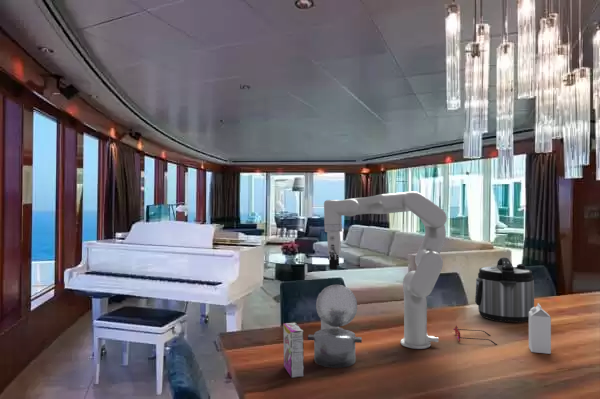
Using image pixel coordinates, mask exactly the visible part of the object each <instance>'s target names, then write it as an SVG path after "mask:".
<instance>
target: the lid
mask: <svg viewBox="0 0 600 399" xmlns="http://www.w3.org/2000/svg"><path fill="white" fill-rule="evenodd" d="M315 309H316V312H317V315H318V317H319V318H320V321H321V320H322V321H323V322H325V323H326V324H328V325H330V326H333V327H339V328H342V327H343V326H346V325H349V324H350V323H351V322H352V321H353V320H354V319H355V316H356V314H357V311H358V301H357V298H356V295H355V294H354V292H353V291H352V290H351V289H350V288H348V287H347V286H344V285H343V284H332V285H328V286H326V287H324V288H323V289H321V291H320V292H319V293H318V295H317V297H316V303H315Z"/></svg>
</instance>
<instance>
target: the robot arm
mask: <svg viewBox="0 0 600 399" xmlns="http://www.w3.org/2000/svg"><path fill="white" fill-rule="evenodd" d="M323 209H324V210H323V214H324V215H323V217H324V218H323V221H324V223H323V224H324V232H325V233H326V235H327V236H326V238H327V239H326V240H327V254H328V255H329V256H328V257H329V260H328V262H329V263H328V264H329V266H328V267H329V268H328V269H329V270H332V271H333V270H337V269H338V267H339V266H340V256H339V255H340V254H341V253H342V246H341V245H342V244H341V243H342V242H341V241H342V240H341V232H342V231H343V218H342V216H344V217H354V216H356V215H370V214H374V215H385V214H395V213H396V214H397V213H404V212H411V213H413V214H414V215H415V216H417V217H418V218H419V219H420V221H421V223H422V224H423V226H424V230H425V233H424V237H423V239H422V242H421V244H420V246H419V247H418V250H417V252H416V254H415V257H414V262H415V265H416V269H415V270H411V271H408V272H407V273H406V274H405V275H404V277H403V281H402V290H403V305H404V306H403V322H404V323H403V326H404V327H403V328H404V330H403V338H401V339H400V344H401V346H402V347H406V348H409V349H415V350H423V349H428V348H430V347H431V343H432V342H434V343H439V337H438V336H437V337H435V336H434V335H428V315H427V314H428V298H427V297H429V295H430V294H432V292H433V290H434V287H435V285H436V283H437V281H438V280H439V277H440V274H441V273H442V270H443V266H444V260H443V258H442V255H441V252H442V249H443V246H444V243H445V242H446V236H447V235H446V234H447V233H446V232H447V231H446V227H445V224H446V222H447V218H448V217H447V214H446V212H445V211H444V209H442V208H441V207H440V206H438V205H437V204H435V203H434V202H433V201H431V200H430V199H429V198H427V197H426V196H425V195H424V194H422V193H420V192H419V191H415V190H413V191H412V190H411V191H404V192H403V191H402V192H393V193H382V194H376V195H371V196H366V197H356V198H355V197H354V198H347V199H342V200H341V199H326V200H325V201H324V203H323Z"/></svg>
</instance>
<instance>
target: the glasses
mask: <svg viewBox="0 0 600 399" xmlns="http://www.w3.org/2000/svg"><path fill="white" fill-rule="evenodd" d="M453 330H454V334H455V336H456V337H457V340H458V342H459V343H460V342H461V339H466V340H485V341H489V342H491V343H493V344H494V345H495V346H498V343H496V342H495V341H493V340H492V339H488V338H476V337H475V338H473V337H463V336H462V337H461V331H467V328H466V329H465V328H459V327H458V326H457V325H455V327H454V328H453ZM468 331H469V332H471V331H472V332H483V333H485V334H486V335H487V336H490V337H491V334H489V333H488V332H486V331H485V330H482V329H481V330H478V329H477V330H476V329H468Z"/></svg>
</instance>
